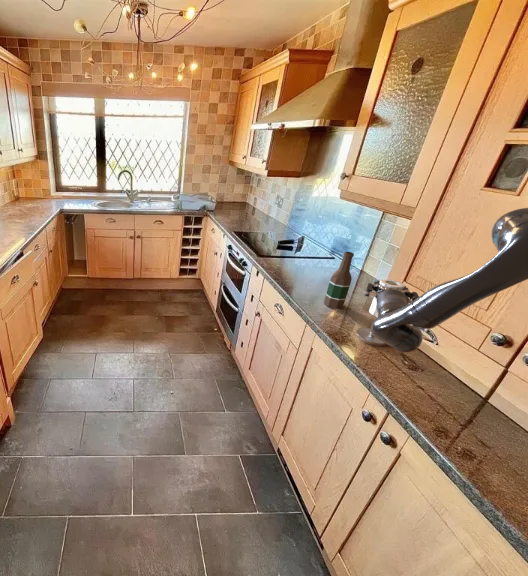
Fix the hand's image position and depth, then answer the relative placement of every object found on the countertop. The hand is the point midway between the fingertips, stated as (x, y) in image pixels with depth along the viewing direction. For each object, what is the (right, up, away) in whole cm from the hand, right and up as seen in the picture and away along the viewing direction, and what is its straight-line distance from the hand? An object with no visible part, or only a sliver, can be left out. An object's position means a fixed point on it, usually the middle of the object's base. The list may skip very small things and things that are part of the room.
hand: (389, 285), depth 104 cm
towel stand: (-1, -19, +7) cm, 20 cm away
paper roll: (-1, -10, +3) cm, 10 cm away
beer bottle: (-1, -8, +29) cm, 30 cm away
